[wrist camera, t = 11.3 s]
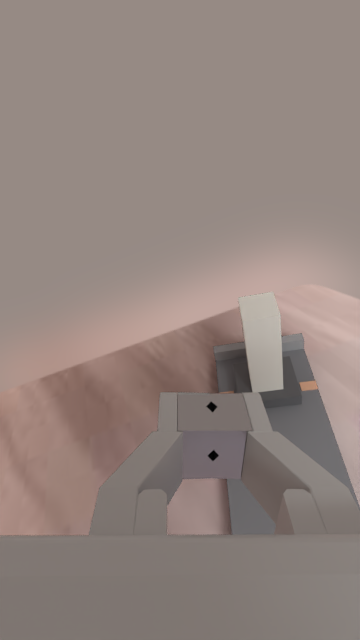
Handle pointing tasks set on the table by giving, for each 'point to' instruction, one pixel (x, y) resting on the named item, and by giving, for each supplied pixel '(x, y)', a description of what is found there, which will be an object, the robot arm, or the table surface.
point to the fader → (265, 354)
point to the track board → (282, 431)
